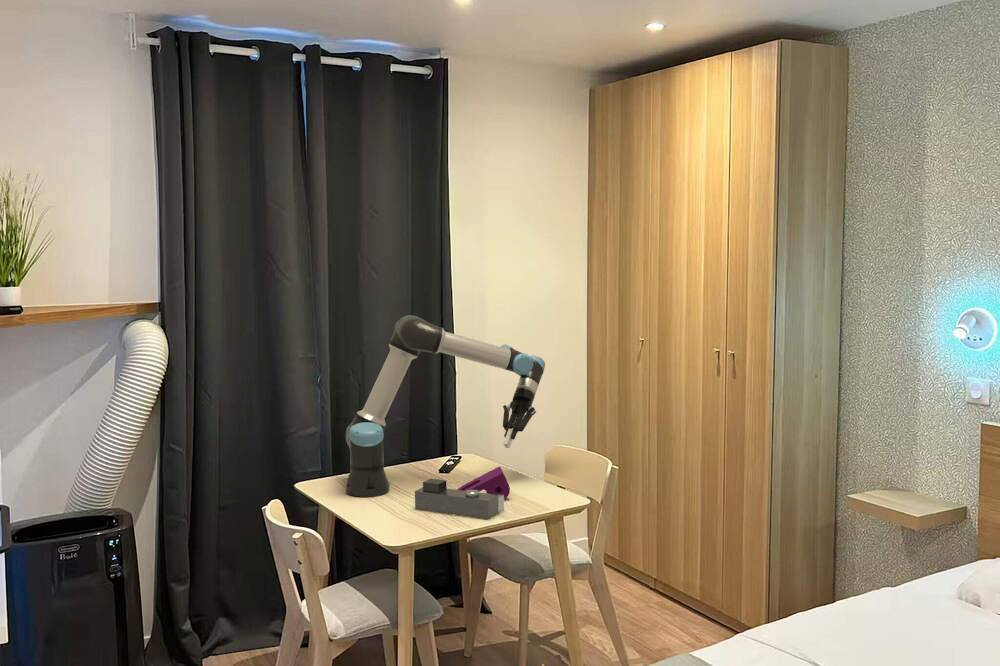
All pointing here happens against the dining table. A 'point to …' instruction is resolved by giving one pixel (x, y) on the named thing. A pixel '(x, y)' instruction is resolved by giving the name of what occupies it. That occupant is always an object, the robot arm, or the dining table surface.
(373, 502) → the dining table surface
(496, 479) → the mounting bracket
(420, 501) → the block
